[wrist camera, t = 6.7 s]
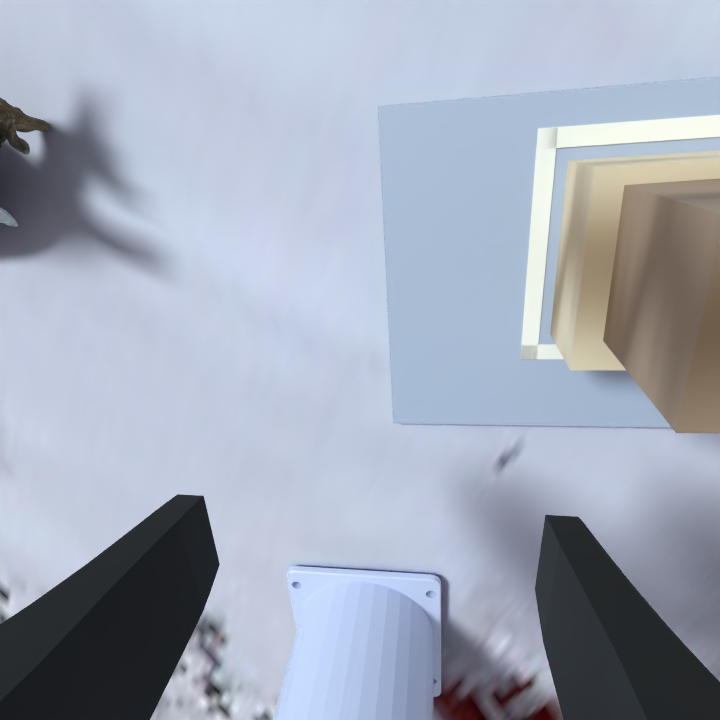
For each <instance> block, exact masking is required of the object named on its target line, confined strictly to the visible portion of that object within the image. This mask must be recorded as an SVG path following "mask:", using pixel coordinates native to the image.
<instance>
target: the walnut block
mask: <svg viewBox="0 0 720 720" xmlns="http://www.w3.org/2000/svg"><path fill="white" fill-rule="evenodd" d="M603 341H604V343H605V344H606V345H607V346H608V348H609V349H610V350H611V351H612V353H613V354H614V355H615V357H616V358H617V359H618V360H619V362H620V363H621V364H622V365H623V367H624V368H625V369H626V370H627V372H628V373H629V374H630V375H631V377H632V378H633V379H634V380H635V382H636V383H637V384H638V385H639V387H640V388H641V389H642V391H643V392H644V393H645V394H646V396H647V397H648V398H649V399H650V401H651V402H652V403H653V404H654V406H655V407H656V408H657V409H658V411H659V412H660V413H661V414H662V416H663V417H664V418H665V419H666V421H667V422H668V423H669V425H670V426H671V427H672V428H673V430H674V431H675V432H676V433H720V178H719V179H705V180H691V181H676V182H662V183H648V184H633V185H624V192H623V199H622V206H621V214H620V221H619V228H618V236H617V243H616V250H615V257H614V265H613V272H612V279H611V287H610V294H609V301H608V308H607V316H606V323H605V330H604V337H603Z"/></svg>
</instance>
